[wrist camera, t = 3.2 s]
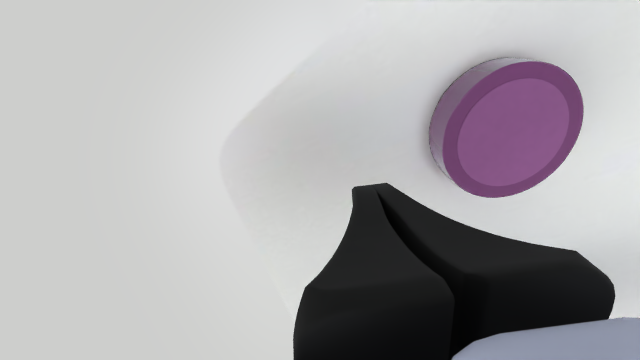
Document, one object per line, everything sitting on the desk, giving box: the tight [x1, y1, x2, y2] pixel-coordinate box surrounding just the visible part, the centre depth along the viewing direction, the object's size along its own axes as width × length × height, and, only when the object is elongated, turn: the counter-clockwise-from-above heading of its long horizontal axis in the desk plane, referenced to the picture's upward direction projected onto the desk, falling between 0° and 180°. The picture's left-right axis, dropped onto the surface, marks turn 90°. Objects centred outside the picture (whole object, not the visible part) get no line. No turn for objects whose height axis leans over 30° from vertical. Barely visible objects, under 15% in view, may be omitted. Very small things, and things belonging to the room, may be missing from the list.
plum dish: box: [429, 57, 583, 198], centre depth 18 cm, size 8×8×2 cm
